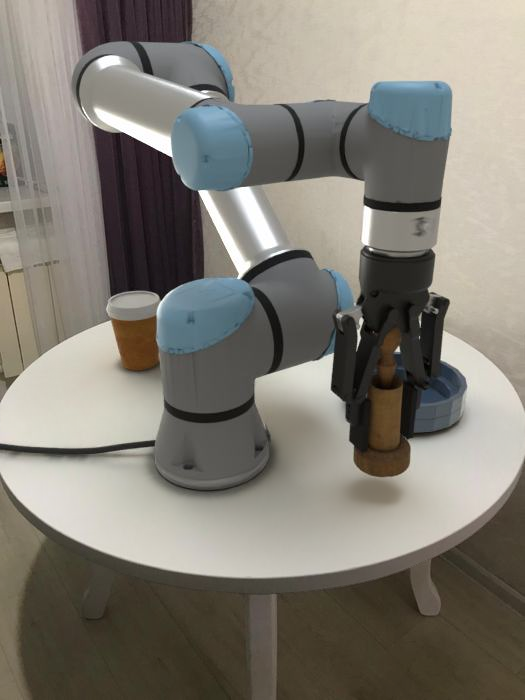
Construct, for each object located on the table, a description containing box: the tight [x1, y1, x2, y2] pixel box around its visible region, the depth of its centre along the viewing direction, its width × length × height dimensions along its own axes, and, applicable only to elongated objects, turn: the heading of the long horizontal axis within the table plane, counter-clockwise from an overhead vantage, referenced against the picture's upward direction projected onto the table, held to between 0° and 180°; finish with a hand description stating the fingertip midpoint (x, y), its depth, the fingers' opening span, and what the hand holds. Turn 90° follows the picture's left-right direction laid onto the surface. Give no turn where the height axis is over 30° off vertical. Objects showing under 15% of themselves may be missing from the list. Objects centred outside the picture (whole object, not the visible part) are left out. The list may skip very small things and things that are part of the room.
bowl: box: [366, 351, 468, 434], centre depth 90 cm, size 18×18×5 cm
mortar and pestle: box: [352, 326, 412, 478], centre depth 66 cm, size 7×6×18 cm
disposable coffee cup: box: [105, 290, 162, 371], centre depth 102 cm, size 10×10×12 cm
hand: (380, 439), depth 70 cm, fingers closed on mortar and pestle, 6 cm apart
